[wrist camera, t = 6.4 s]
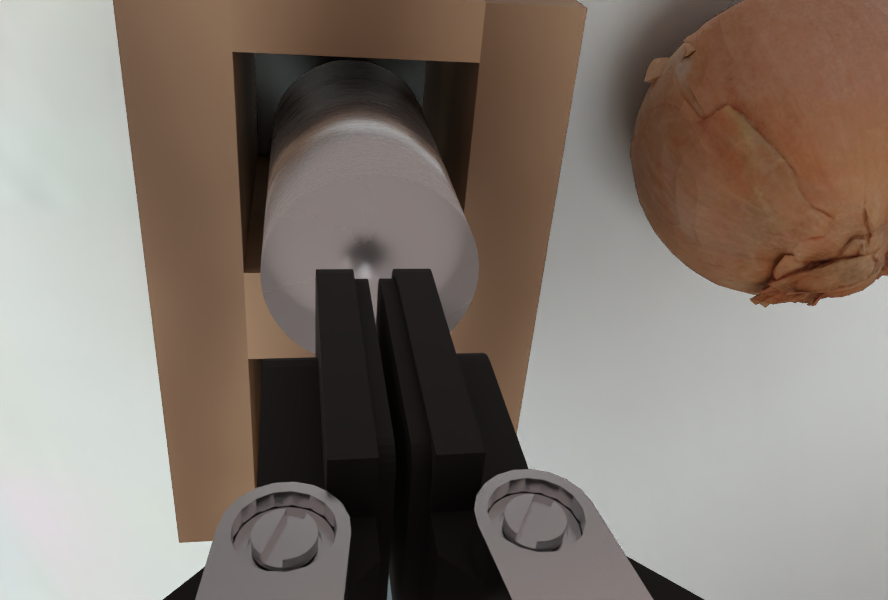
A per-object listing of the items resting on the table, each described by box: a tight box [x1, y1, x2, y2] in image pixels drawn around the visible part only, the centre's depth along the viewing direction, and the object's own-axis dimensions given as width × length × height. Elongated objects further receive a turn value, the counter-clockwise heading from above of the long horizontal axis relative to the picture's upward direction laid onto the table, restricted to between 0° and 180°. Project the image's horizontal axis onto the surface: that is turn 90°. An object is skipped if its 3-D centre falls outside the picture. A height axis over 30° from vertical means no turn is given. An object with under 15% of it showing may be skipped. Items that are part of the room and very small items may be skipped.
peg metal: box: [260, 60, 479, 354], centre depth 18 cm, size 4×4×8 cm
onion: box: [630, 0, 888, 307], centre depth 24 cm, size 10×9×10 cm
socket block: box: [113, 0, 587, 543], centre depth 24 cm, size 10×16×8 cm, turn 175°
